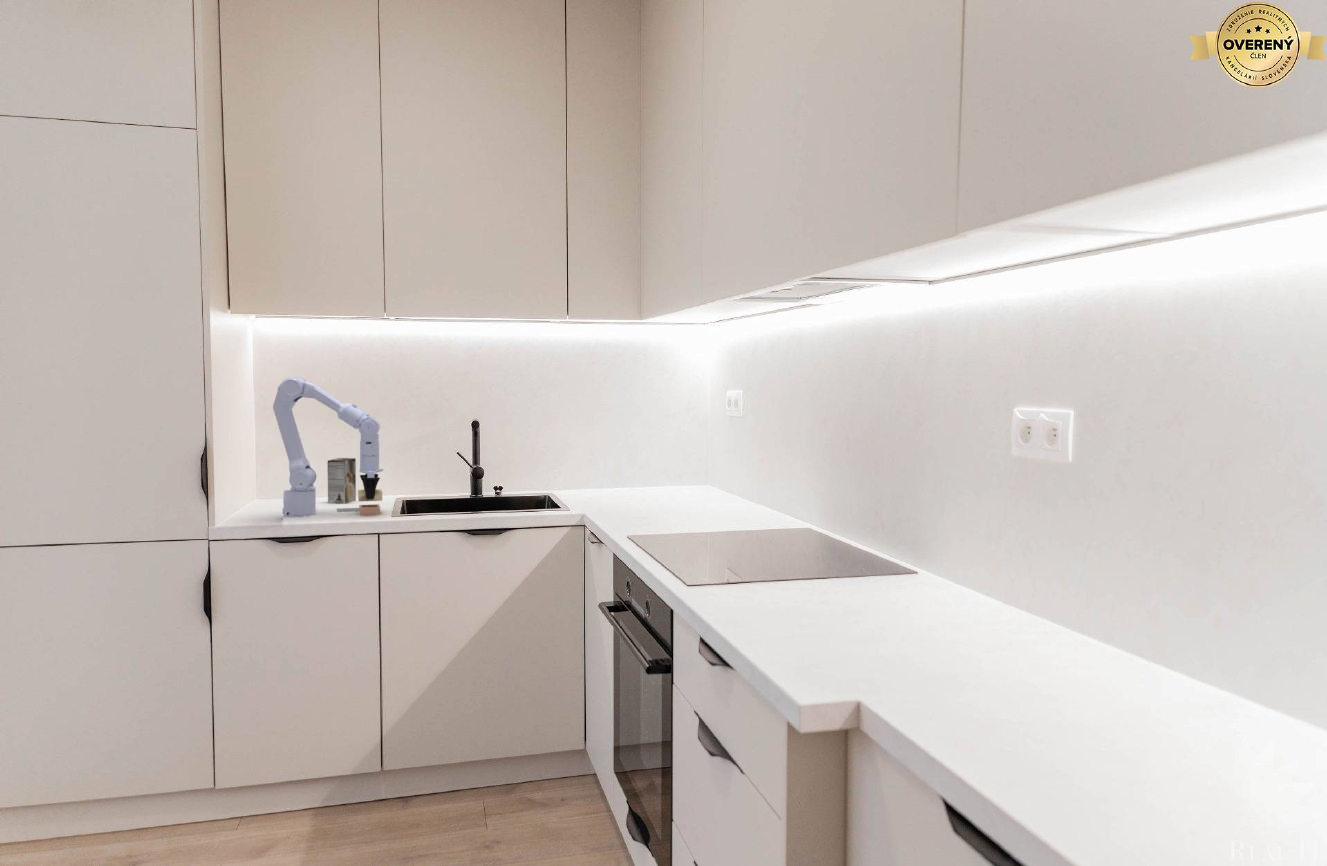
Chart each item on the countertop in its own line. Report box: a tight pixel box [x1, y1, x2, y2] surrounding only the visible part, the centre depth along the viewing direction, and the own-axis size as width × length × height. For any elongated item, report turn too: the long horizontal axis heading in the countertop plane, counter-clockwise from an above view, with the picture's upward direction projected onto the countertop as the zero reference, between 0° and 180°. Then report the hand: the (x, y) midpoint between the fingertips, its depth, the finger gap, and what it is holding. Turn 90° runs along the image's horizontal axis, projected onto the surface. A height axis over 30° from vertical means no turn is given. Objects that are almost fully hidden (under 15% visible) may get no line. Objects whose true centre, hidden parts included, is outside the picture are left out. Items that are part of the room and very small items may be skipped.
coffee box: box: [327, 457, 357, 505], centre depth 283 cm, size 9×6×16 cm
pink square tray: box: [358, 503, 381, 516], centre depth 261 cm, size 6×6×4 cm
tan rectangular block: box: [357, 488, 383, 502], centre depth 261 cm, size 7×5×3 cm
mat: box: [336, 507, 359, 513], centre depth 267 cm, size 9×7×1 cm
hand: (369, 497), depth 261 cm, fingers closed on tan rectangular block, 5 cm apart
